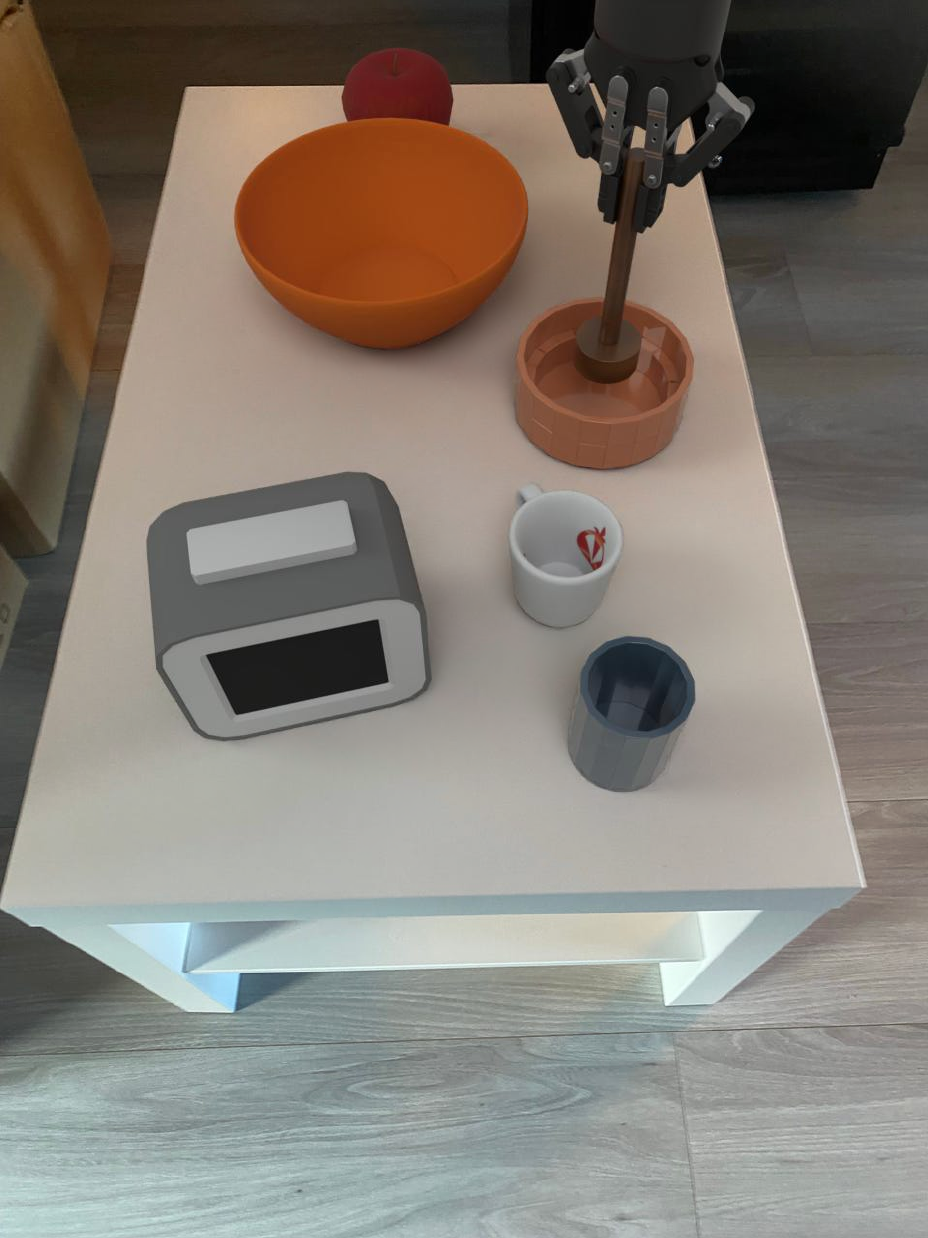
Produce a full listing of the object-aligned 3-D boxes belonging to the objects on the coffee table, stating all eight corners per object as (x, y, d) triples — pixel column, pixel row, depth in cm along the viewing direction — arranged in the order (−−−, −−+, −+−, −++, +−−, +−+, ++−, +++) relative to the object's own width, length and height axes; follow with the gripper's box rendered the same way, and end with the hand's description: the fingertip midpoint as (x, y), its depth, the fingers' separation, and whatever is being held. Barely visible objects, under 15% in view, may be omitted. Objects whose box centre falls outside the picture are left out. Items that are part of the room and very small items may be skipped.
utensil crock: (684, 725, 67) (711, 664, 59) (646, 810, 63) (669, 757, 56) (592, 683, 68) (607, 619, 61) (551, 764, 65) (561, 707, 57)
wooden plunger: (647, 351, 78) (690, 143, 62) (622, 392, 75) (660, 187, 60) (589, 330, 79) (617, 122, 64) (562, 370, 77) (585, 164, 61)
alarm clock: (203, 747, 66) (135, 635, 53) (189, 612, 72) (124, 480, 58) (432, 697, 68) (423, 577, 55) (401, 570, 74) (385, 432, 60)
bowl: (493, 415, 82) (495, 324, 73) (217, 370, 85) (188, 278, 76) (545, 230, 94) (552, 134, 86) (303, 197, 97) (287, 101, 89)
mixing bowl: (703, 383, 83) (718, 330, 78) (641, 496, 77) (653, 447, 72) (557, 331, 87) (562, 277, 82) (486, 435, 81) (487, 384, 75)
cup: (473, 546, 75) (473, 480, 68) (564, 513, 76) (573, 446, 69) (532, 656, 70) (539, 598, 63) (628, 619, 71) (645, 558, 64)
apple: (447, 132, 103) (445, 18, 93) (461, 193, 97) (460, 79, 87) (346, 141, 102) (332, 27, 92) (354, 203, 97) (340, 89, 87)
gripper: (817, -62, 51) (739, 219, 66) (585, -115, 55) (560, 164, 69) (772, 3, 48) (701, 284, 63) (527, -58, 51) (515, 223, 66)
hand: (627, 220), depth 66 cm, fingers closed on wooden plunger, 1 cm apart
